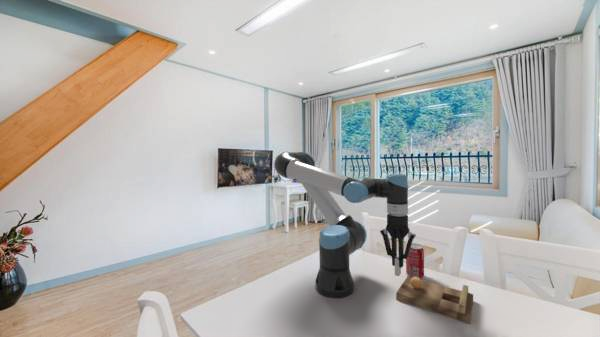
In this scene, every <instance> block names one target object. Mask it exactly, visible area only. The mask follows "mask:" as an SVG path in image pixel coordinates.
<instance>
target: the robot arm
mask: <svg viewBox="0 0 600 337" xmlns="http://www.w3.org/2000/svg"><path fill="white" fill-rule="evenodd" d="M274 169H275V172H276V173H277V174H278V175H279V176H281V177H283V178H286V179H288V180H294V181H295V182H296V183H297V184H301V185H302V186H303V188H304V189H305V191H306V192H307V194H308V195H309V196H310V198H311V200H312V201H313V202H314V204H315V206H316V207H317V209H319V212H320V213H321V215H322V216H323V217H324V219H325V220H326V222H327V223H328V224H329V225H327V226H325V227H323V228H322V229H321V230H320V231H319V238H318V242H319V244H318V245H319V246H318V248H319V250H318V251H319V268H318V272H317V274H316V276H315V280H314V281H315V283H314V284H315V286H314V287H315V289H316V291H317V293H319V294H321V295H323V296H326V297H328V298H338V299H339V298H345V297H348V296H351V295H352V294H353V293H354V291H355V282H354V279H353V276H352V273H351V270H350V255H352V254H353V253H355V252H356V251H357V250H359V249H361V248H362V247H363V246H364V245H365V243H366V241H367V236H368V235H367V230H366V227H365V225H363V223H361V222H360V221H357V220H354V218H353V217H352V216H351V215H350V214H346V213H345V211H344V210H343V209H342V208H341V206H340V204H338V202H337V200H335V198H334V197H333V195H332V194H331V193H333V194H336V195H339V196H342V197H344V199H346V201H347V202H349V203H352V204H356V203H357V204H359V203H362V202H364V201H367V200H370V199H372V198H383V199H386V212H387V214H386V227H385V228H382V229H380V231H379V232H380V234H381V236H382V239H383V243H384V247H385V251H386V254H387V256H390V257H391V265H392V266H393V267H394V276H396V277H400V276H401V274H402V273H401V272H402V271H401V270H402V268H403V267H404V260H406V259H407V258H408V256H409V253H410V249H411V245H412V244H413V241H414V239H415V238H416V237H417V235H416V234H415V233H413V232H411V230H410V228H409V216H408V214H409V200H408V199H409V185H408V184H409V181H408V176H407V175H406V174H405V173H388V174H387V175H386V178H372V177H371V178H368V177H366V178H365V177H364V178H359V179H355V178H352V177H349V176H346V175H343V174H339V173H336V172H333V171H331V170H330V171H329V170H327V169H324V168H320V167H317V166H316V161H315V158H314V157H313V156H312V155H311V154H310V153H308V152H304V151H298V152H295V151H293V152H292V151H284V152H282V153H279V154H278V155H277V157H275V159H274ZM389 236H390V238H389ZM406 236H407V238H408V240H407V243H406V246H404V242H405V241H404V240H405V237H406ZM390 241H391V243H390ZM397 246H398V248H397ZM404 248H405V249H404ZM397 249H398V250H397ZM397 251H398V252H397ZM397 255H398V256H397Z"/></svg>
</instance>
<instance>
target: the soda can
mask: <svg viewBox="0 0 600 337" xmlns="http://www.w3.org/2000/svg"><path fill="white" fill-rule="evenodd" d="M423 247H424V246H423V245H421V244H418V243H412V245H411V249H410V253H409V256H408V258H407V259H405V273H406V275H407V276H408V277H411V278H413V277H418V278H420V279H421V280H422V278H424V276H425V250H424V248H423Z"/></svg>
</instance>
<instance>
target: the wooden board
mask: <svg viewBox="0 0 600 337" xmlns="http://www.w3.org/2000/svg"><path fill="white" fill-rule="evenodd" d="M411 279H412V278H411V277H409V276H408V275H407V277H406V278H405V279H404V281H403V282H402V283H401V285H400V286H399V288H398V289H397V291H396V295H395V296H396V299H395V300H398V301H401V302H403V303H406V304H408V305H411V306H415V307H417V308H421V309H424V310H427V311H431V312H434V313H437V314H439V315H442V316H445V317H449V318H451V319H455V320H457V321H460V322H463V323H467V324H471V322H472V321H471V320H472V313H473V306H474V294H473V293H471V292H469V285H466V284H463V285H462V288H461V290H459V289H455V288H451V287H448V286H443V285H441V284H437V283H434V282H433V283H432V282H430V281H425V280H422V279H421V281H422V287H421V288H419V289H416V288H414V287H412V285H411V283H410V281H411Z"/></svg>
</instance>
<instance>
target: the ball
mask: <svg viewBox="0 0 600 337" xmlns="http://www.w3.org/2000/svg"><path fill="white" fill-rule="evenodd" d="M421 280H422V278H421V279H420V278H418V277H413V278H412V279H411V281H410V283H411V285H412V287H414V288H416V289H419V288H421V287H422V281H423V280H422V281H421Z"/></svg>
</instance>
